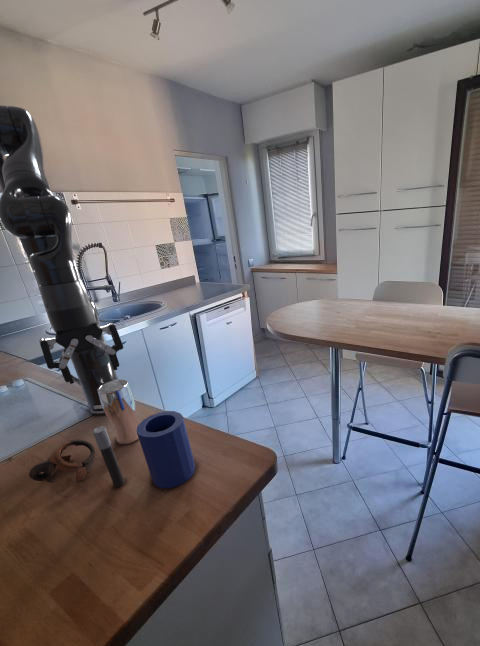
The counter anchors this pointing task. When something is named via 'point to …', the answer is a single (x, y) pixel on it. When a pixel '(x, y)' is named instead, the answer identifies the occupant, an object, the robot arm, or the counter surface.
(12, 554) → the counter surface
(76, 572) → the counter surface
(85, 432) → the counter surface
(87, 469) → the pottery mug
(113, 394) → the beer glass
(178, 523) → the counter surface
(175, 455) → the vase
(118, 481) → the marker
